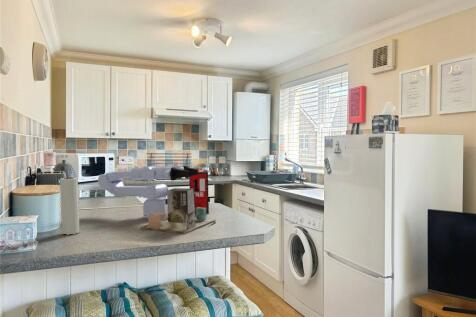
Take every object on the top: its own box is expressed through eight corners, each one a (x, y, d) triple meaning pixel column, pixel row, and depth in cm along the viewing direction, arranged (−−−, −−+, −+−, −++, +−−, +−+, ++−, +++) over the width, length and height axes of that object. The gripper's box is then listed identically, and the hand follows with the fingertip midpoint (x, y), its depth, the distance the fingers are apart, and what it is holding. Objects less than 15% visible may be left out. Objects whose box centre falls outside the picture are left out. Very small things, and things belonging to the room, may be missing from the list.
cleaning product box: (208, 213, 165) (208, 172, 164) (190, 214, 164) (189, 172, 163) (208, 207, 181) (207, 169, 180) (191, 208, 180) (190, 170, 179)
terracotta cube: (148, 227, 135) (148, 214, 135) (154, 224, 140) (154, 212, 139) (159, 228, 133) (159, 215, 133) (166, 225, 138) (165, 212, 138)
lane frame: (140, 231, 133) (139, 215, 133) (174, 219, 154) (174, 205, 153) (185, 236, 124) (185, 220, 124) (216, 223, 144) (215, 209, 144)
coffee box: (196, 229, 135) (195, 188, 135) (188, 233, 129) (187, 190, 129) (175, 227, 138) (174, 187, 138) (167, 231, 132) (166, 189, 132)
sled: (159, 231, 131) (159, 216, 130) (191, 220, 150) (190, 206, 150) (185, 235, 126) (184, 218, 125) (214, 222, 145) (213, 208, 144)
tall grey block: (68, 236, 127) (65, 178, 126) (58, 234, 130) (56, 178, 129) (85, 232, 133) (83, 177, 132) (76, 230, 136) (74, 176, 135)
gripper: (155, 164, 144) (182, 164, 138) (176, 162, 157) (201, 162, 151) (156, 181, 144) (183, 182, 138) (176, 178, 157) (202, 178, 151)
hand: (192, 172), depth 145 cm, fingers open, 7 cm apart
